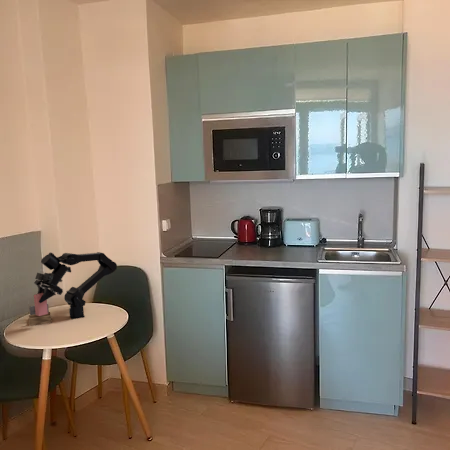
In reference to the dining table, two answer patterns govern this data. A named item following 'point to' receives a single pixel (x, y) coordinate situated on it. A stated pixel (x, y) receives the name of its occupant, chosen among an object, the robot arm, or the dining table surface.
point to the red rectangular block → (40, 305)
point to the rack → (38, 317)
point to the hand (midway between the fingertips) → (37, 301)
